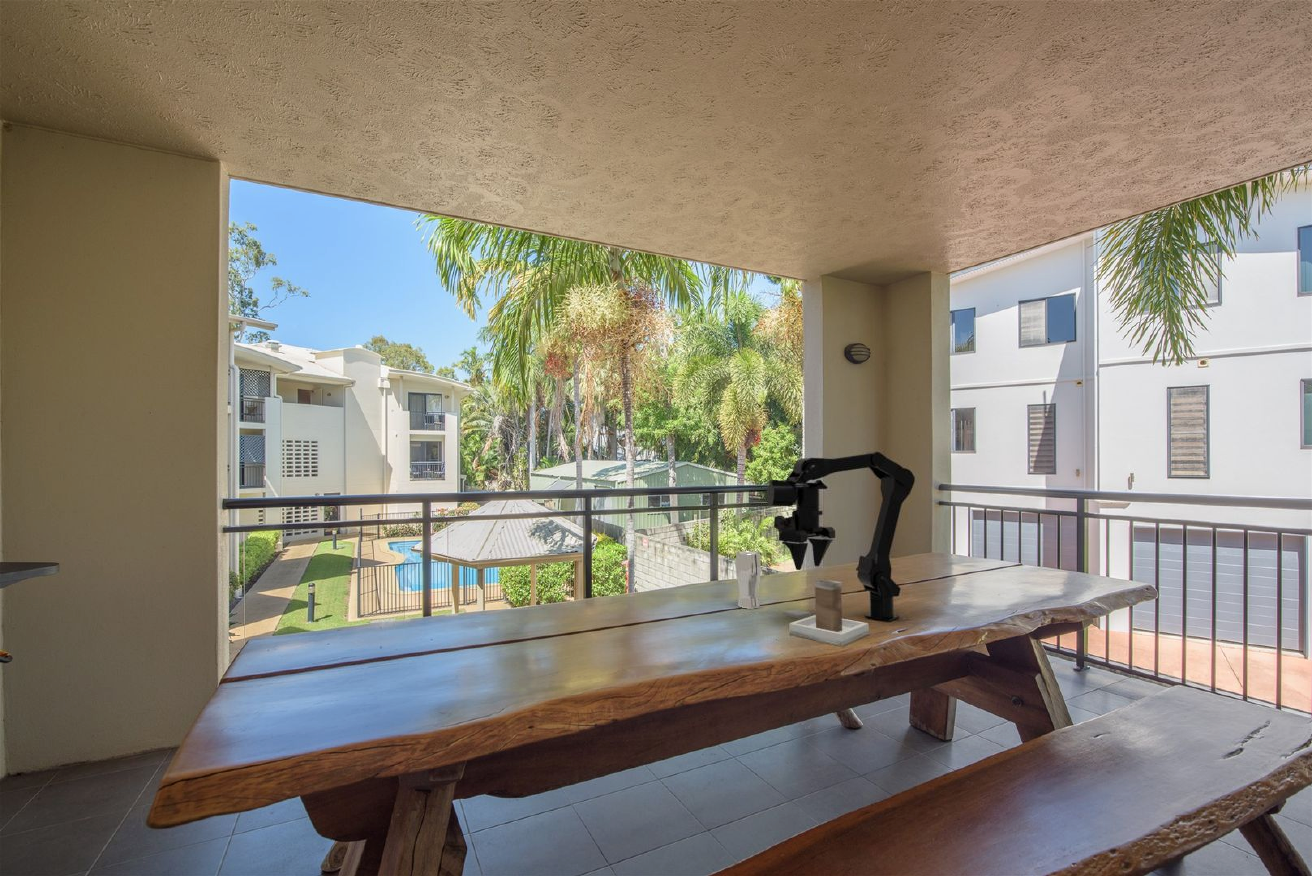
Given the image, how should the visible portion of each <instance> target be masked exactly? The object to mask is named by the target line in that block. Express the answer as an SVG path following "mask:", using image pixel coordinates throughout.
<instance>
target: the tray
mask: <svg viewBox="0 0 1312 876" xmlns="http://www.w3.org/2000/svg"><path fill="white" fill-rule="evenodd" d="M788 625H789V626H788V627H789V632H788V633H789V635H790V636H794V635H795V636H794V637H798V638H799V637H800V638H804V639H807V640H808V639H809V640H813V641H816V642H821V643H825V644H829V645H834V646H837V647H838V646H840V647H843V646H846V645H848V644H850V643H853V642H855V641H857V640H859V639H862V638H864V637H866V636H869V635H870V633H869V630H870V629H869V627H870V626H869V623H867V622H862V621H857V620H851V619H846V618H842V631H839V632H834V631H829V630H824V629H819V628H816V614H814V615H811V616H807V617H803V618H800V619H799V620H796V621H792V622H790V623H789V624H788Z"/></svg>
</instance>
